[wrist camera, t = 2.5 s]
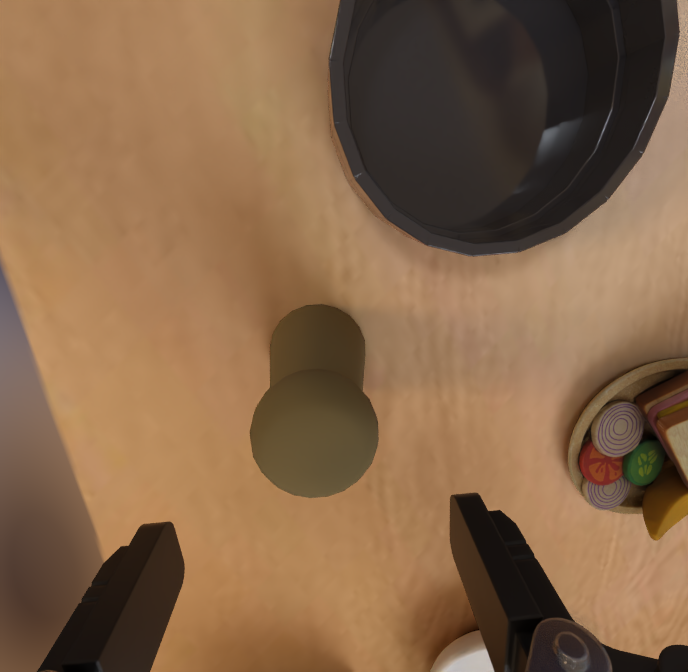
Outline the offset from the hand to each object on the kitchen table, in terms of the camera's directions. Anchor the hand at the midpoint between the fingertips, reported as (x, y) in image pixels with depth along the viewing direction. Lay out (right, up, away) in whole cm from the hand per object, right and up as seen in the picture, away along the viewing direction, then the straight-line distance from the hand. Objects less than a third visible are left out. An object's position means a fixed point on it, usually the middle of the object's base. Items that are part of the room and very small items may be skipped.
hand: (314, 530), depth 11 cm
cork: (-1, +5, +14) cm, 15 cm away
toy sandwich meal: (+23, -1, +17) cm, 28 cm away
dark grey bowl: (+7, +18, +9) cm, 21 cm away
